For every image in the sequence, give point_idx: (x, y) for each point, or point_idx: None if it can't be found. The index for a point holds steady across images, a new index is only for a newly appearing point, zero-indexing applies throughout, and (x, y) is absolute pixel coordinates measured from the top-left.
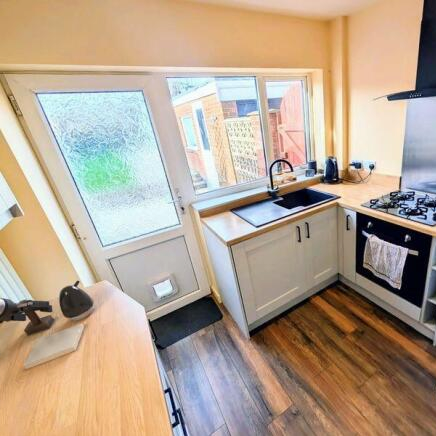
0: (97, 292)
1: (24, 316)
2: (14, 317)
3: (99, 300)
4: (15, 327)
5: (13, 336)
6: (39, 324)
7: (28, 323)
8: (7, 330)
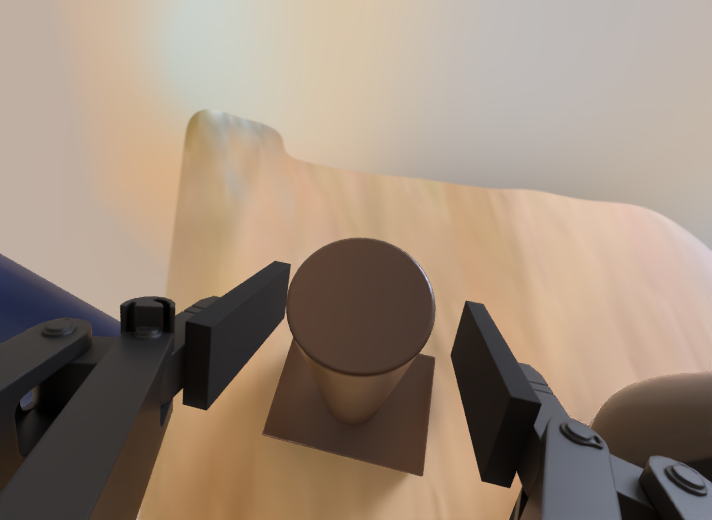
0: (641, 254)
1: (281, 293)
2: (213, 378)
3: None
4: (216, 256)
5: None
6: (373, 452)
7: (292, 347)
8: (179, 252)
